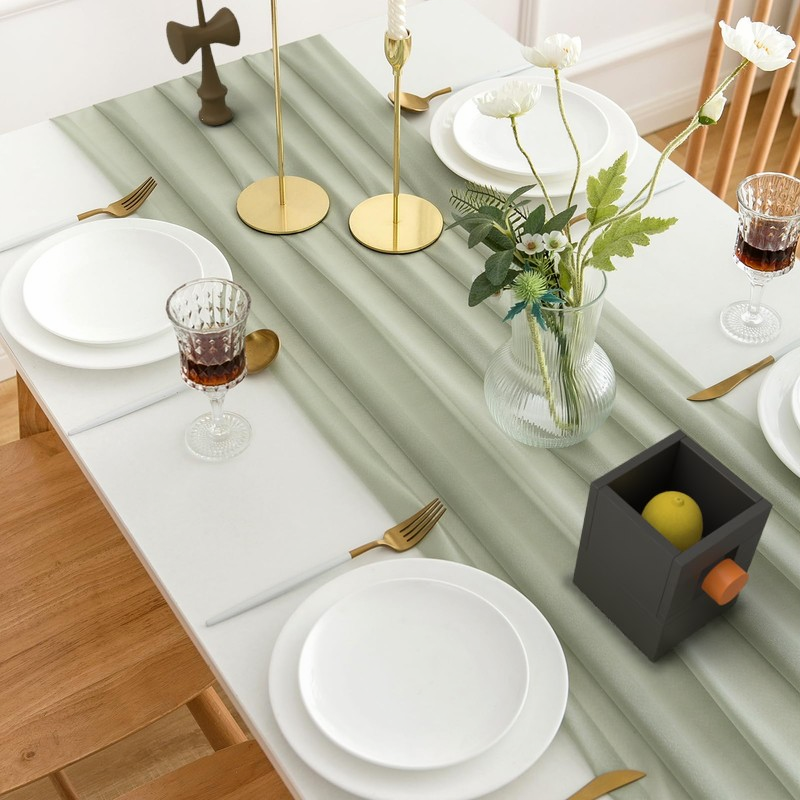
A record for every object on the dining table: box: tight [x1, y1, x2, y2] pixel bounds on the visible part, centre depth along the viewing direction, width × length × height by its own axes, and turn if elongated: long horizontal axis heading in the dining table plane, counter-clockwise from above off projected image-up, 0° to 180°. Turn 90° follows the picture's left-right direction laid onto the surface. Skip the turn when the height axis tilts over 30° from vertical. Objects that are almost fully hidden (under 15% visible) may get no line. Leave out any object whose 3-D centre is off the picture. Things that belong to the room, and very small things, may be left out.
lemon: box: [641, 491, 703, 553], centre depth 97 cm, size 6×6×8 cm
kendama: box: [165, 0, 241, 126], centre depth 158 cm, size 6×10×20 cm, turn 124°
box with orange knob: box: [572, 428, 774, 663], centre depth 99 cm, size 11×11×15 cm
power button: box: [702, 559, 750, 605], centre depth 94 cm, size 2×4×4 cm, turn 126°
